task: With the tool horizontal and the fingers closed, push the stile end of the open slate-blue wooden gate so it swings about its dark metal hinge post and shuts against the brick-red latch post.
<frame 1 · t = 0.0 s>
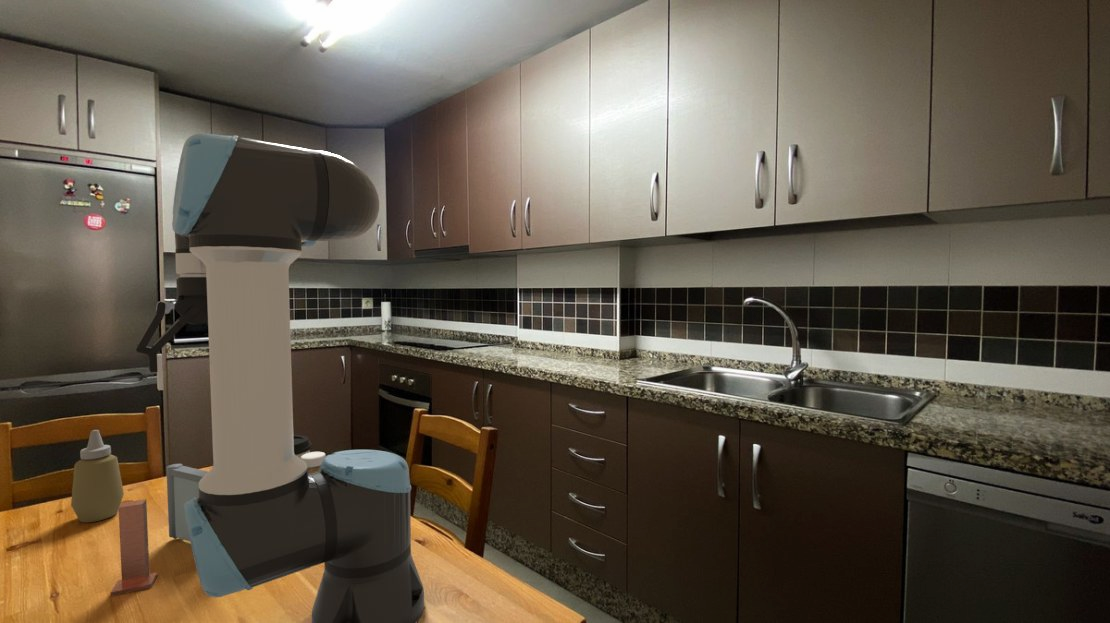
hand: (204, 384, 100), 28 cm above the table, tool pointing down, fingers open, 13 cm apart
gate: (198, 507, 92), point 7 cm above the table, hinge at -50.0°
coffee cup: (288, 512, 107), on the table
sprinkles bottle: (314, 520, 103), on the table
squeeze bottle: (99, 517, 105), on the table
gate posts: (233, 557, 88), on the table
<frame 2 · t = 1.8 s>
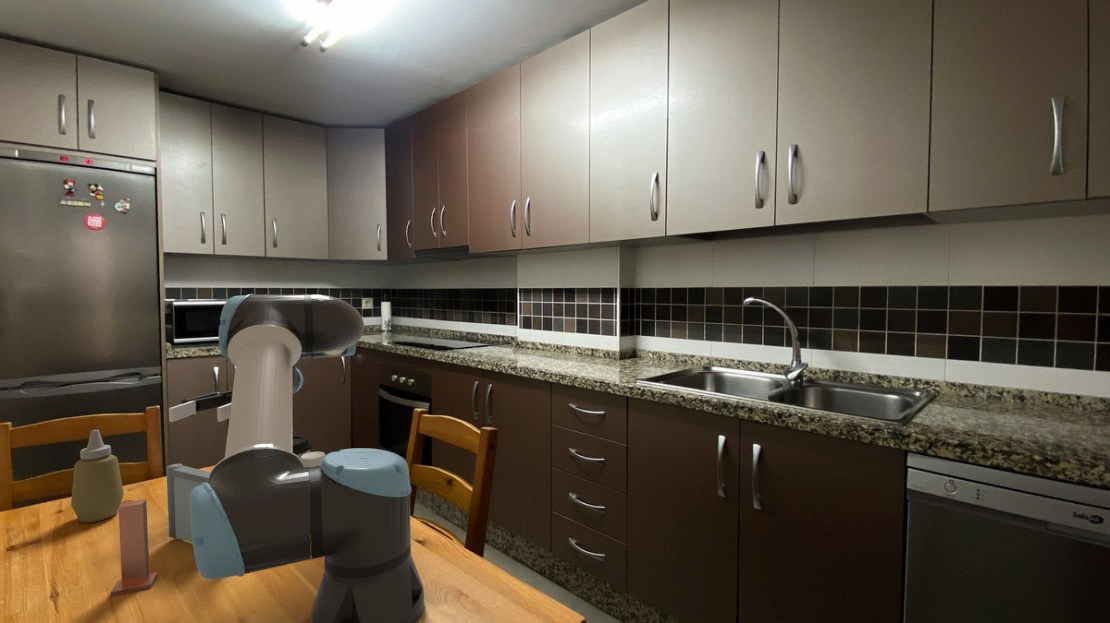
hand: (195, 414, 100), 22 cm above the table, tool horizontal, fingers open, 9 cm apart
nothing on the table moved.
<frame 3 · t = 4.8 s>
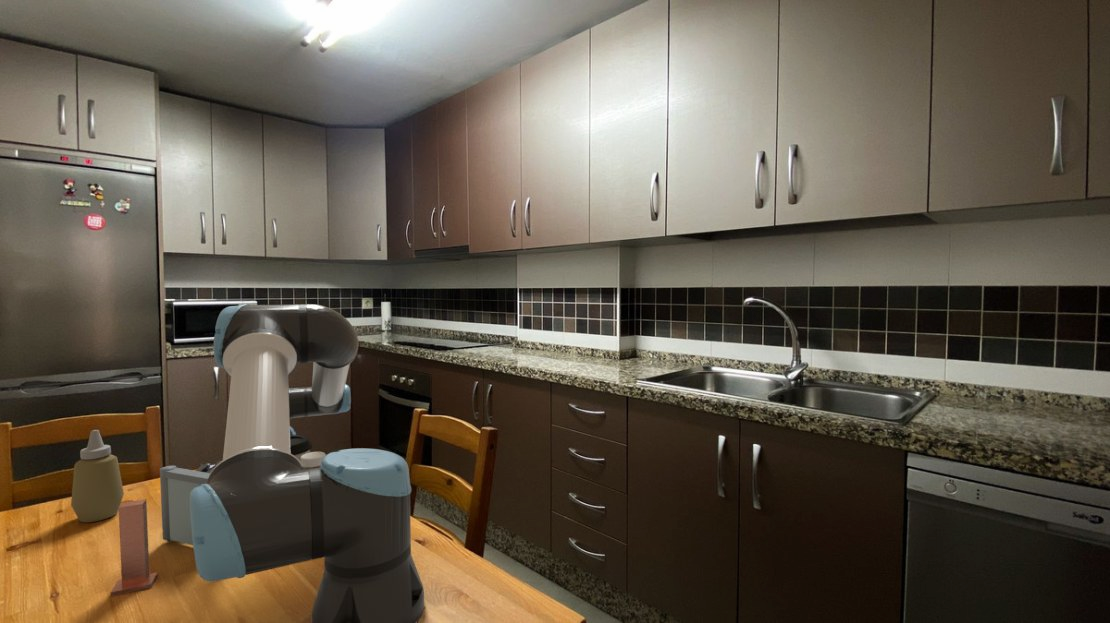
hand: (177, 499, 95), 7 cm above the table, tool horizontal, fingers closed
gate: (194, 509, 91), point 7 cm above the table, hinge at -46.1°, touching gripper
everything else where it was.
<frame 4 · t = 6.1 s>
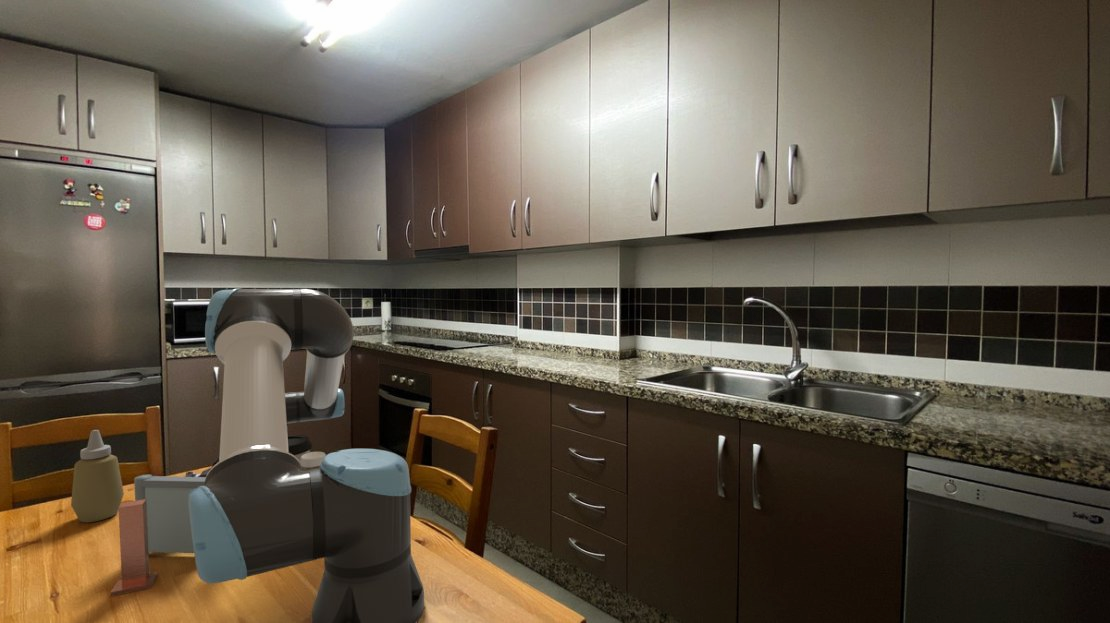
hand: (158, 512, 90), 7 cm above the table, tool horizontal, fingers closed
gate: (180, 516, 89), point 7 cm above the table, hinge at -29.5°, touching gripper
everything else where it was.
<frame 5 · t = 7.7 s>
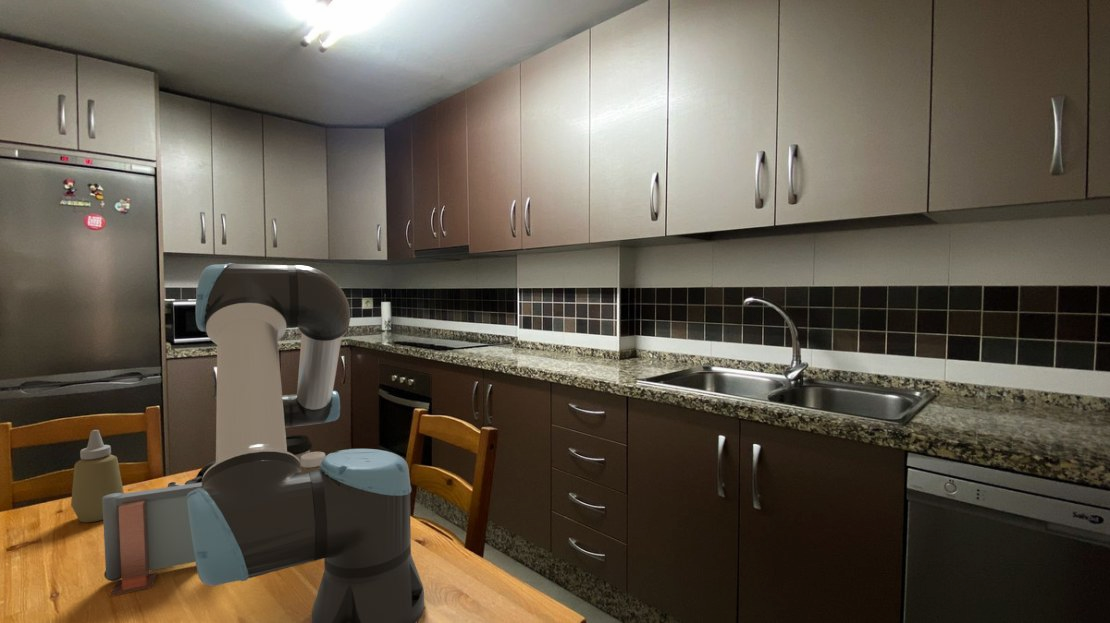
hand: (133, 530, 83), 7 cm above the table, tool horizontal, fingers closed
gate: (165, 528, 84), point 7 cm above the table, hinge at 0.2°, touching gate posts, gripper
everything else where it was.
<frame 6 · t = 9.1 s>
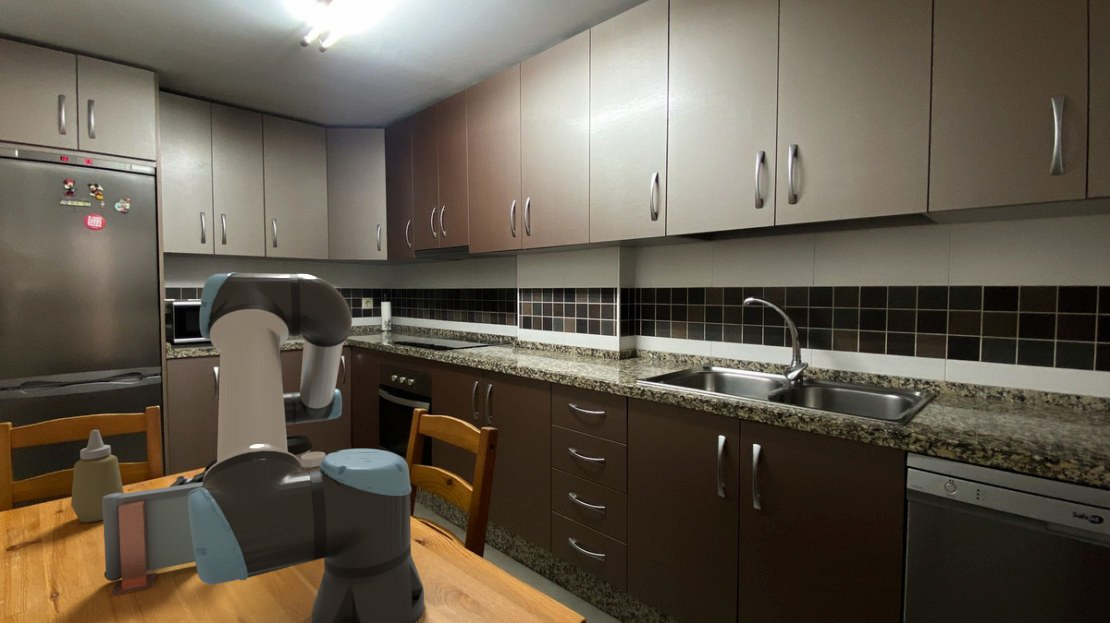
hand: (147, 519, 86), 8 cm above the table, tool horizontal, fingers closed
gate: (165, 528, 84), point 7 cm above the table, hinge at 0.2°, touching gate posts
everything else where it was.
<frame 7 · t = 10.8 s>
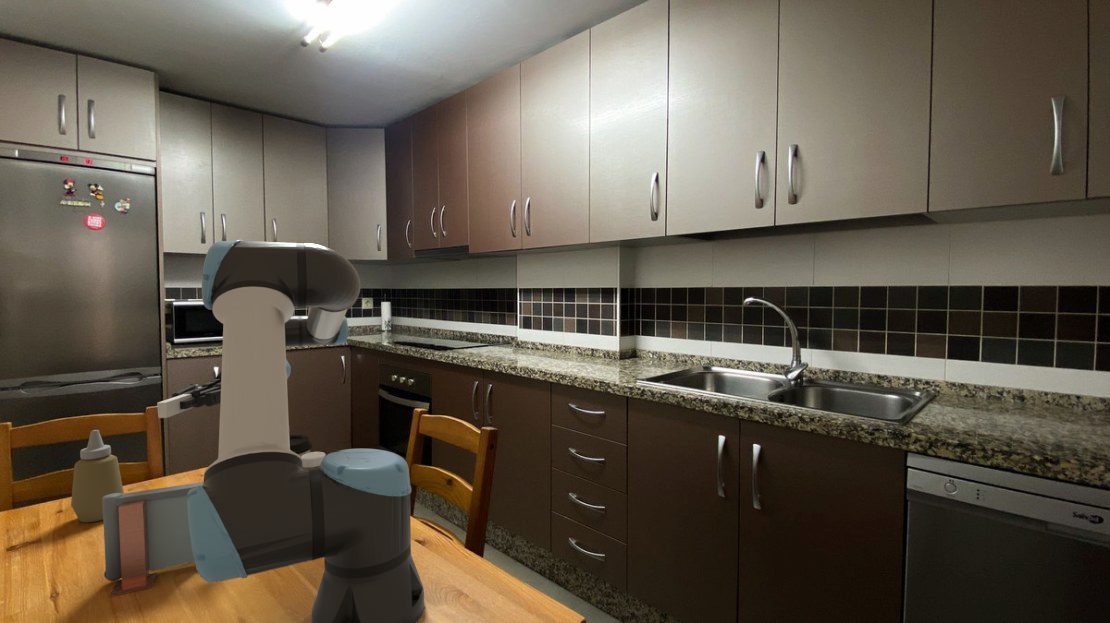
hand: (162, 410, 89), 26 cm above the table, tool horizontal, fingers closed
nothing on the table moved.
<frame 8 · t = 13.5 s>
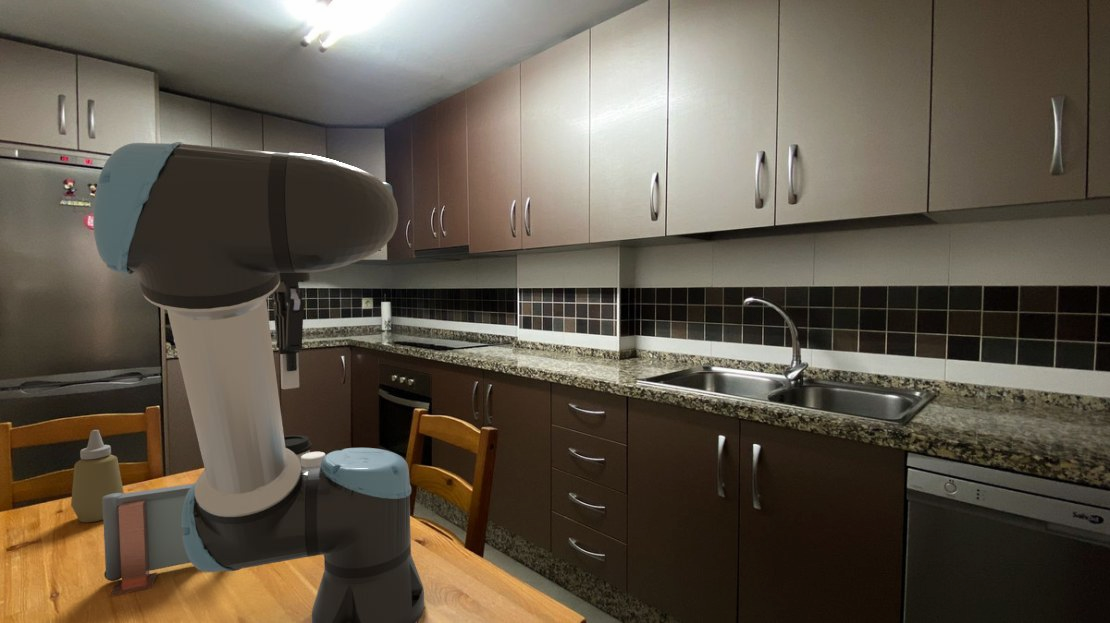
hand: (290, 387, 94), 28 cm above the table, tool pointing down, fingers closed
nothing on the table moved.
at the end: gate at +0° (first picture: -50°) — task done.
